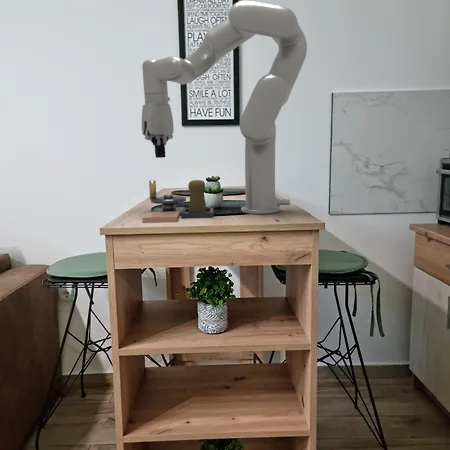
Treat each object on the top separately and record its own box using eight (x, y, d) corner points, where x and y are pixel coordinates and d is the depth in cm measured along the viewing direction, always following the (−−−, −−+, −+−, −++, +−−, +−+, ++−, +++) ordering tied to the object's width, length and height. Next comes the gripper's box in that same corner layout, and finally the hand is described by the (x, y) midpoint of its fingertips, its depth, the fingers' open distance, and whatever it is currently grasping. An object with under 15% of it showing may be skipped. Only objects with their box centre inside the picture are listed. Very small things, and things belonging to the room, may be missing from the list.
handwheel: (149, 200, 158) (148, 179, 156) (184, 198, 159) (183, 178, 158) (150, 204, 146) (149, 182, 145) (187, 202, 148) (186, 180, 147)
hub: (185, 208, 158) (184, 200, 158) (183, 213, 149) (182, 204, 148) (156, 209, 158) (155, 200, 158) (152, 214, 149) (151, 205, 148)
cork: (204, 217, 140) (203, 181, 138) (185, 217, 141) (184, 181, 139) (209, 214, 146) (208, 179, 144) (191, 213, 147) (189, 179, 145)
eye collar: (213, 212, 149) (213, 207, 148) (213, 217, 139) (212, 212, 139) (183, 213, 148) (183, 208, 148) (181, 218, 139) (181, 213, 139)
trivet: (180, 216, 143) (179, 211, 143) (177, 221, 133) (176, 216, 133) (147, 217, 143) (147, 212, 143) (142, 222, 133) (142, 217, 133)
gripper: (167, 102, 157) (170, 156, 160) (130, 100, 147) (135, 158, 150) (181, 99, 152) (185, 156, 155) (144, 98, 141) (149, 158, 145)
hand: (160, 157), depth 152 cm, fingers closed
